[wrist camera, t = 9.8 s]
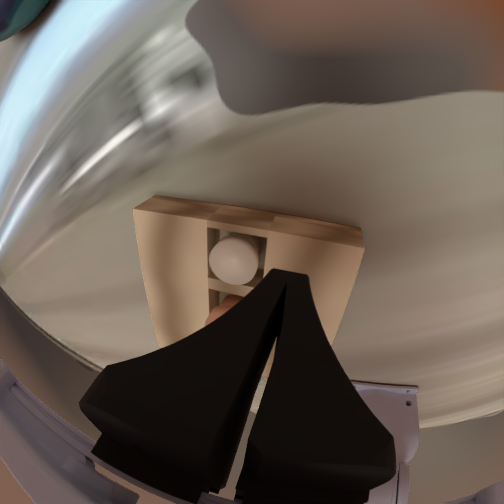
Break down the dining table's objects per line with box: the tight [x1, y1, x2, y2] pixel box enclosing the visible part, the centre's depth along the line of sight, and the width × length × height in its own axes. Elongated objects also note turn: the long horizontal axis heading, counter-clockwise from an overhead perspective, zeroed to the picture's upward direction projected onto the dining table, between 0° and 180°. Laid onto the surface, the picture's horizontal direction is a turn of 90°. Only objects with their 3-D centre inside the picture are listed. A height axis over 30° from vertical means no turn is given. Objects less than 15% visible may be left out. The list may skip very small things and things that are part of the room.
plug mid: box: [205, 295, 243, 326], centre depth 20 cm, size 3×3×3 cm
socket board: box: [133, 196, 365, 378], centre depth 22 cm, size 16×15×3 cm
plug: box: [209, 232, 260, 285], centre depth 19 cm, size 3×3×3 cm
